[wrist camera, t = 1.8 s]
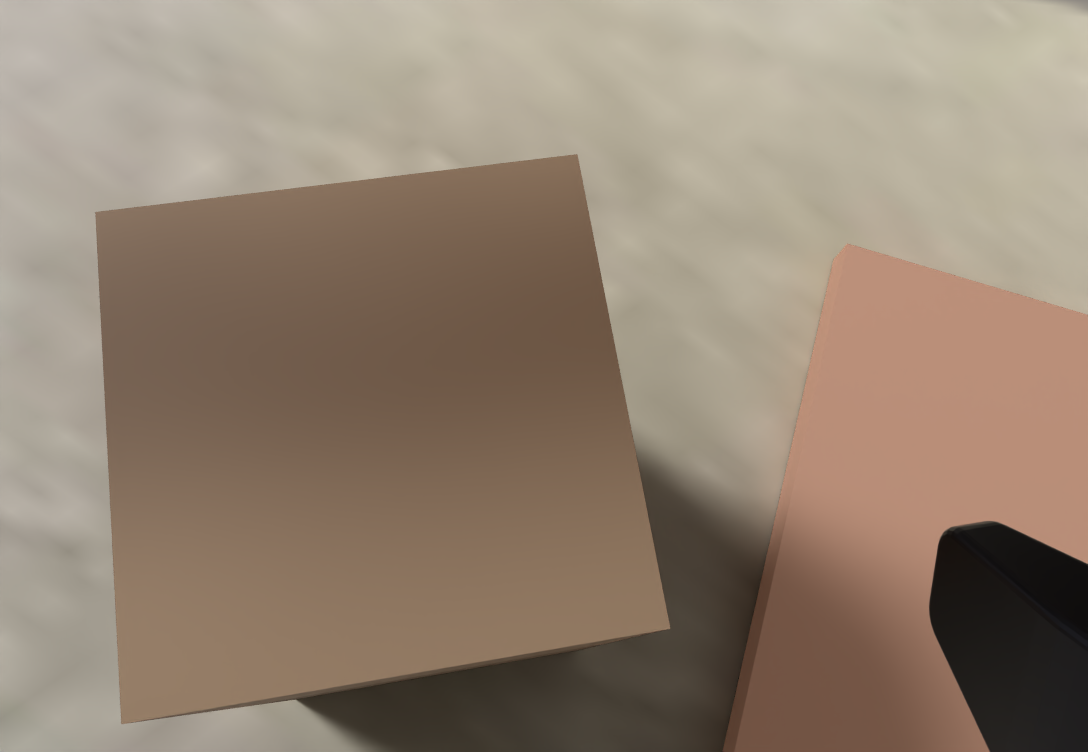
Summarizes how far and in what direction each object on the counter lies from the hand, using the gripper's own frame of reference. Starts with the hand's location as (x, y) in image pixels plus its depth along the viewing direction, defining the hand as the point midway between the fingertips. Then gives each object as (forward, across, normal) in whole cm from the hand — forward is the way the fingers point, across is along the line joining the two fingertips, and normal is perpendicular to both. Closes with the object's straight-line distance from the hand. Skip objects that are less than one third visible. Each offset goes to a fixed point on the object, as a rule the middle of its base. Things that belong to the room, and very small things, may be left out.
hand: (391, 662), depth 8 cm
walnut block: (+9, 0, +6) cm, 11 cm away
